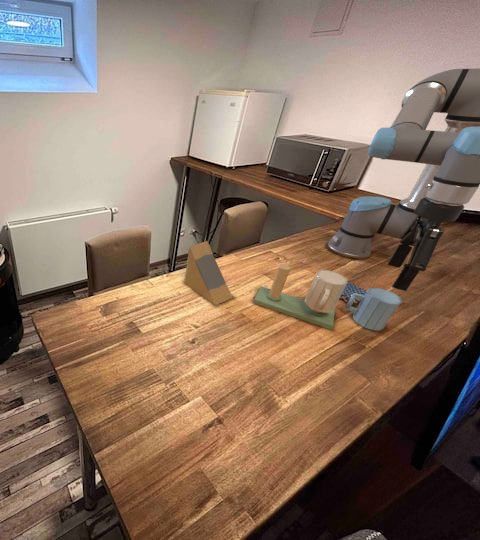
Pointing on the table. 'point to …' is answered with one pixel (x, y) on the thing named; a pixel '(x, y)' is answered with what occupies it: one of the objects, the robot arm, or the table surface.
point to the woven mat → (351, 292)
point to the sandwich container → (205, 274)
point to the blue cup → (374, 308)
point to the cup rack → (291, 302)
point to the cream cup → (325, 290)
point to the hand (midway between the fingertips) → (396, 276)
